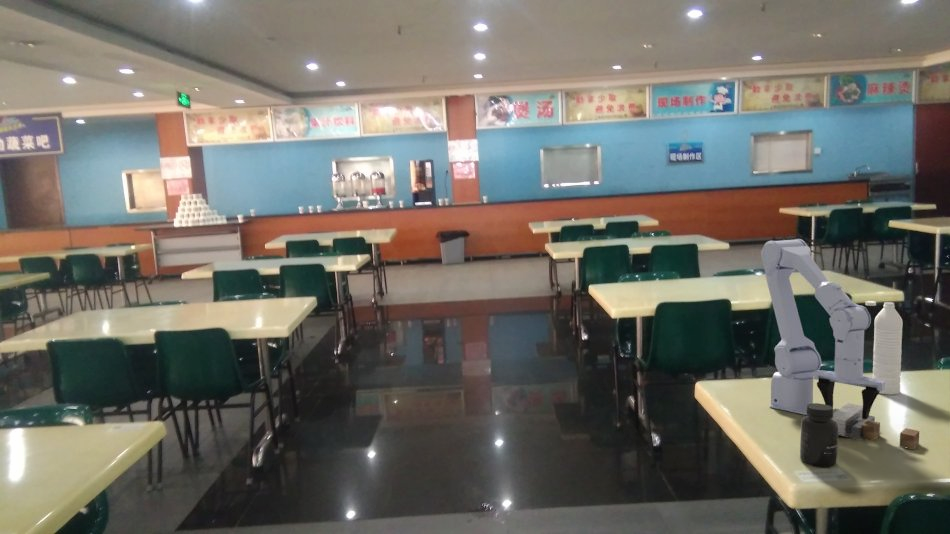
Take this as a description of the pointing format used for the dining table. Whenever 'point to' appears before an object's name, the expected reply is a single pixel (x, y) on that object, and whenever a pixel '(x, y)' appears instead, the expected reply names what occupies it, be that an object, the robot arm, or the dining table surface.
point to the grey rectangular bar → (847, 418)
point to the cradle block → (857, 428)
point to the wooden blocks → (907, 436)
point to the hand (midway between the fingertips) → (847, 414)
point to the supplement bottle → (819, 436)
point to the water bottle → (887, 347)
